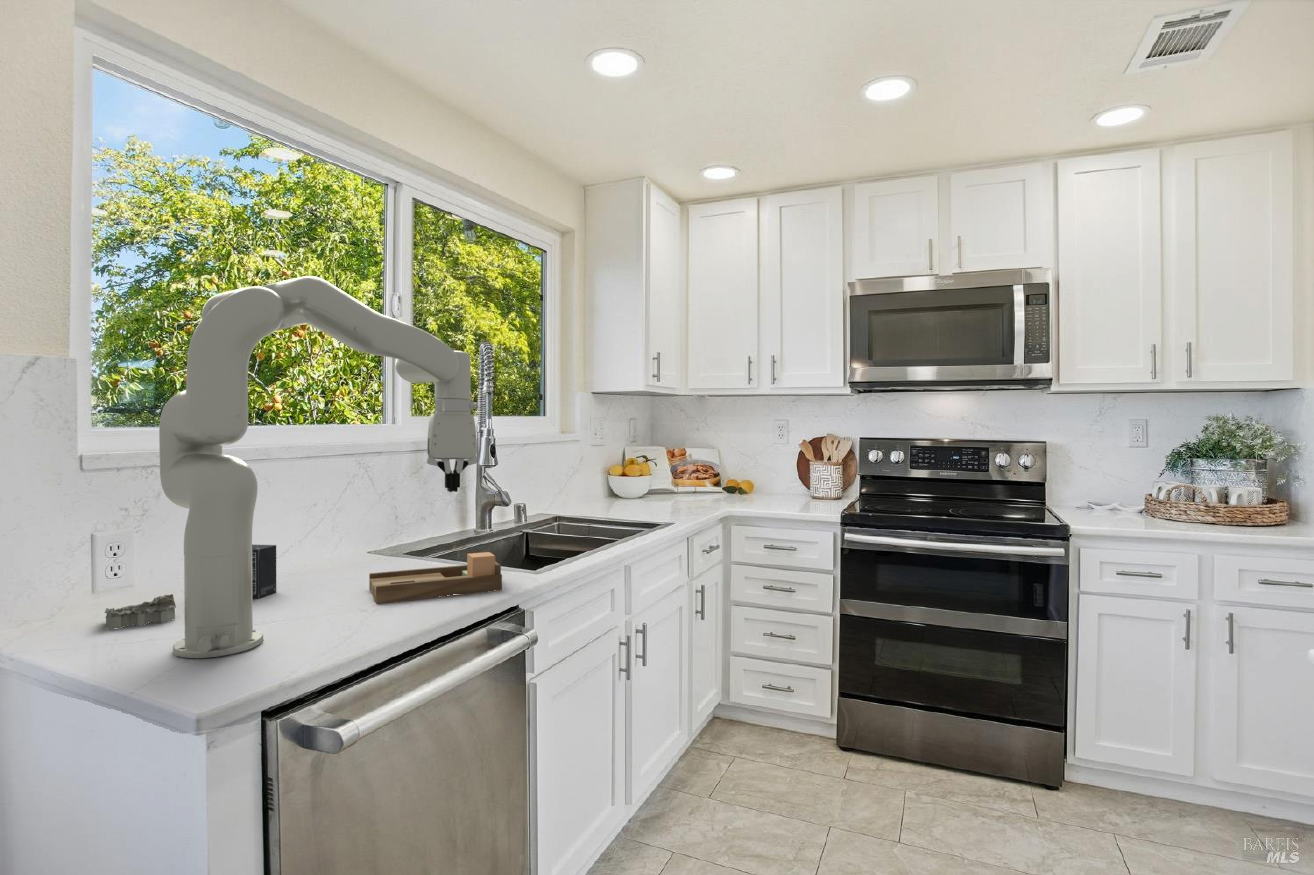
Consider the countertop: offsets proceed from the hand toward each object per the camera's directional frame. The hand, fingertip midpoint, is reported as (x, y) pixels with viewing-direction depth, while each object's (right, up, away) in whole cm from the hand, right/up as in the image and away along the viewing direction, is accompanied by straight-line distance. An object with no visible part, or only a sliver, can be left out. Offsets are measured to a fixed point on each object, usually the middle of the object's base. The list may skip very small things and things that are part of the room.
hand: (452, 491), depth 154 cm
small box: (-43, -22, -4) cm, 49 cm away
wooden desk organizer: (-4, -22, +2) cm, 23 cm away
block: (+5, -20, +4) cm, 21 cm away
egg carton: (-50, -23, -24) cm, 60 cm away
